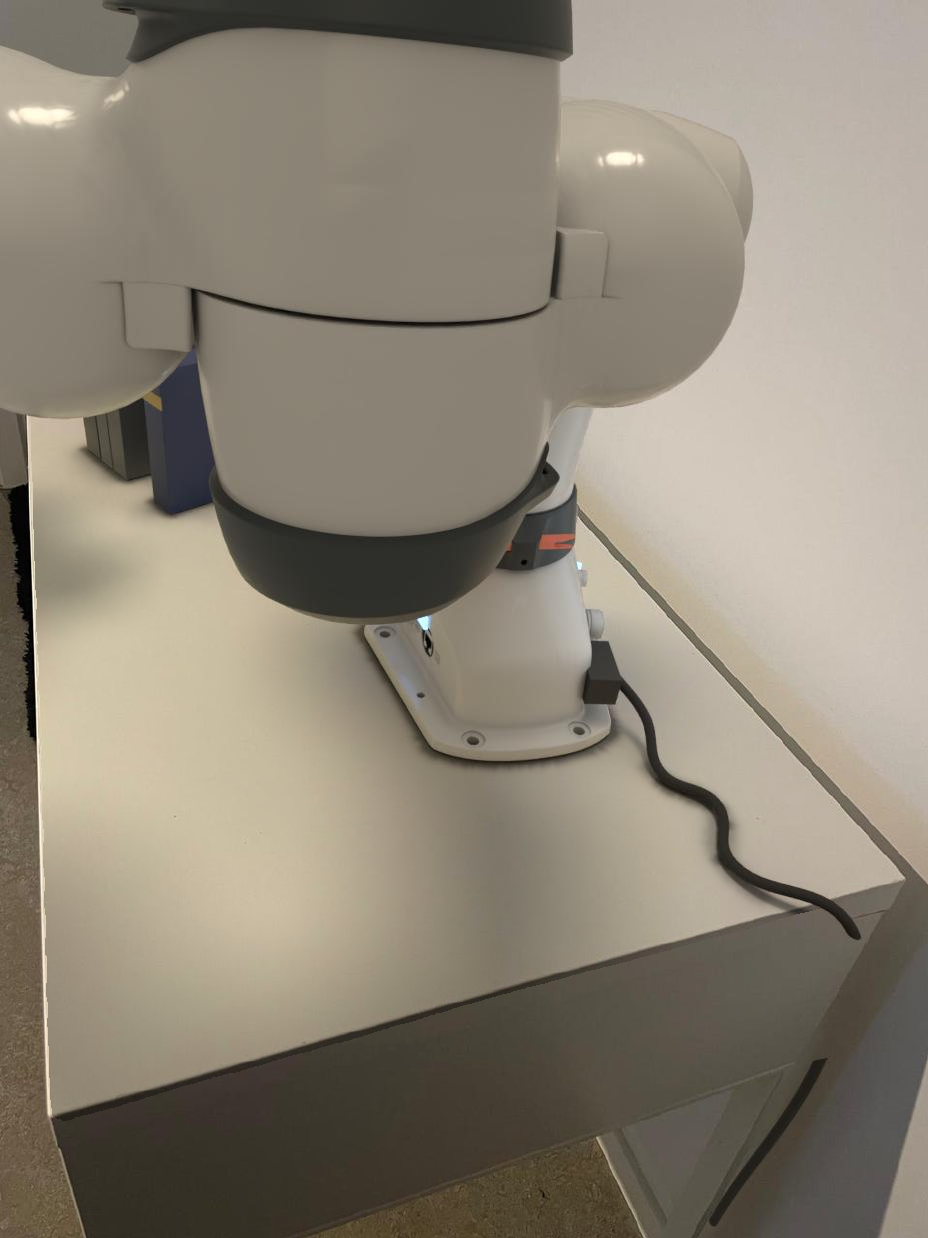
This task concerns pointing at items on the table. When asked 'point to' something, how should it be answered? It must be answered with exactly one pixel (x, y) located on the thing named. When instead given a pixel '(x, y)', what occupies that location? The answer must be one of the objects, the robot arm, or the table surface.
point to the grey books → (121, 439)
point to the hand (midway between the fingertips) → (103, 330)
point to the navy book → (179, 440)
